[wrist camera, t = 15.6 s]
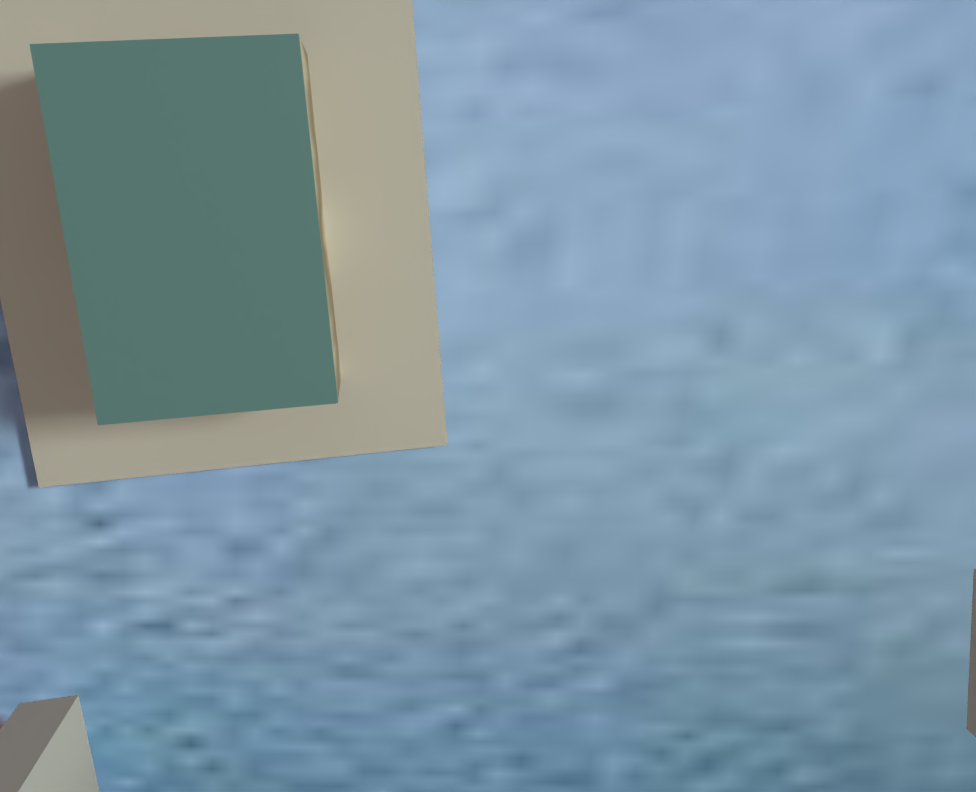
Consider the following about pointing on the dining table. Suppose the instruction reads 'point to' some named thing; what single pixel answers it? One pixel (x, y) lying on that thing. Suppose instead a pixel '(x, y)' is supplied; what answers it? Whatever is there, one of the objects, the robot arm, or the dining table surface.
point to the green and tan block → (192, 223)
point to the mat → (349, 230)
